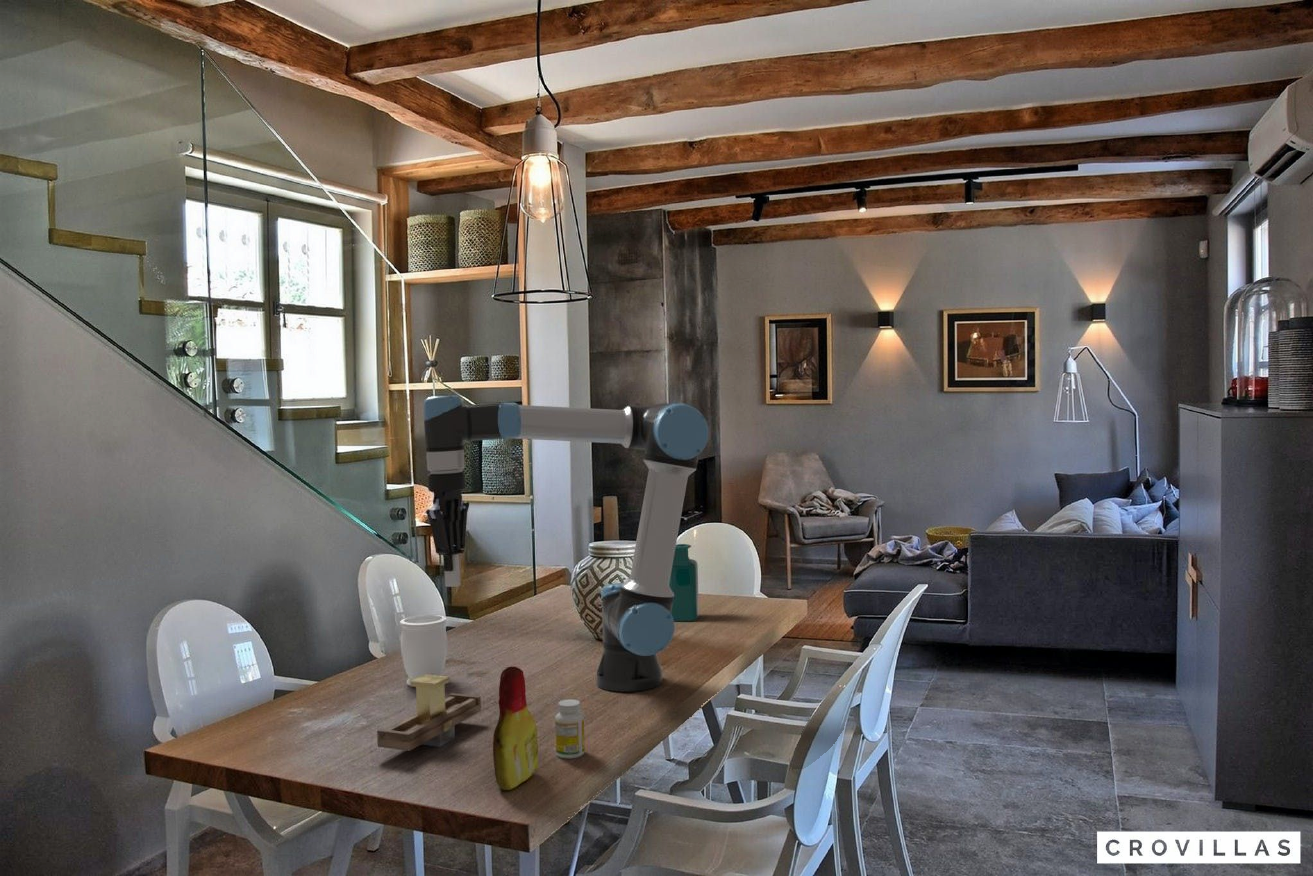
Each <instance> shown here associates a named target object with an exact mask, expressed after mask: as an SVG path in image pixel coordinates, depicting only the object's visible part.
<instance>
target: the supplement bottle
mask: <svg viewBox="0 0 1313 876" xmlns="http://www.w3.org/2000/svg"><path fill="white" fill-rule="evenodd" d="M557 709H558V713H556V715H555V718H554V724H555V727H554V728H555V753H556V756H557V757H559V758H561V759H575V758H580V757H582V756H583V755H584V754H585V751H586V750H585V749H586V748H585V744H586V743H585V716H584V714H583V712H581V711H580V710H581V702H580V701H579V700H578V699H571V698H570V699H564V700H560V701H558V708H557Z"/></svg>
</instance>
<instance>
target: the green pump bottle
mask: <svg viewBox="0 0 1313 876" xmlns="http://www.w3.org/2000/svg"><path fill="white" fill-rule="evenodd" d="M690 548H692V545H691V544H687V543H680V544H679V543H678V544H677V543H676V547H675V553H674V559H673V564H672V570H671V576H670V582H669V587H670V589H671V590H672V592H673V593H674V599H673V605H672V611H671V615H672V617H673V621H674V622H695V621H697V620H698V618H699V615H700V608H699V607H700V606H699V605H700V603H699V601H700V600H699V570H698V569H699V567H698V566H699V564H698V562H697V561H696V560H695V559H692V558H690V557H689V549H690Z"/></svg>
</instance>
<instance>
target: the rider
mask: <svg viewBox="0 0 1313 876" xmlns="http://www.w3.org/2000/svg"><path fill="white" fill-rule="evenodd" d="M450 682H451V677H450V676H447V675H442V676H439V675H428V674H425V675H423V676H421V677H419V678H416V679H414V680H412V681H410V685H409V687H413V688H415V691H416V692H415V693H416V696H415V697H416V714H417V723H422V724H423V723H425V722H427V721H429V720H431V719H433V718H435V717H436V716H438V715H440V714H442V713H444V712H445V699H446V693H445V692H446V690H445V688H446V687H445V685H446V684H448V683H450Z"/></svg>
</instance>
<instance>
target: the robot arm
mask: <svg viewBox="0 0 1313 876" xmlns="http://www.w3.org/2000/svg"><path fill="white" fill-rule="evenodd" d="M461 400H462V399H461V397H460V396H459V395H442V396H441V395H440V396H429V397H427V398H426V399H425V400H424V402H423V426H424V427H423V428H424V439H425V440H424V441H425V452H426V457H425V458H426V468H427V469H426V470H427V471H428V472H430V473H428V475H427V488H428V491H429V492H431V493H432V494H433V499H432V504H433V505H432V506H431V508H427V509H426V511H425V513H426V516H427V517H428V520H429V524H430V530H431V534H432V539H433V544H434V549H435V553H436V554H437V555H438V556H442V559H443V571H444V572H443V573H444V586H445V587H448V588H449V587H452V588H453V587H454V588H455V587H456V588H458V587H460V586H461V571H460V569H461V568H460V565H461V563H460V554H464V551H465V548H466V539H467V537H466V536H467V524H468V521H467V520H468V511H469V507H470V502H469V501H464V500H463V495H462V492H461V491H463V490H465V489H466V488H467V487H466V486H467V485H466V474H465V472H464V471H463V470H464V469H465V467H466V466H465V453H464V442H471V441H492V440H494V441H495V440H496V441H497V440H503V441H505V440H508V439H516V440H517V439H518V440H519V439H520V440H522V439H523V440H538V441H539V440H541V441H560V442H578V443H579V442H581V443H582V442H583V443H584V442H585V443H601V444H602V443H603V444H605V443H607V444H620V445H622V447H624V448H625V449H633V450H634V449H635V450H640V451H642V450H643V451H644V456H643V462H644V464H645V465H646V467H647V468H648V474H647V478H646V485H645V490H644V497H643V503H642V507H641V513H640V519H639V524H638V529H637V535H636V540H635V547H634V553H633V556H632V557H633V559H632V564H631V570H630V576H629V579H627V580H626V581H625V582H616V583H608V584H605V585H604V586H603V587H602V589H601V597H600V601H601V617H602V619H601V622H602V623H601V625H602V653H601V657H600V660H599V664H598V667H597V671H596V673H595V674H596V677H595V679H596V686H597V687H598V688H601V689H603V690H607V691H611V692H612V691H614V692H640V691H641V692H642V691H647V690H651V689H655V688H657V687H658V686H660V685H661V684H663V670H662V668H661V665H660V663H659V660H658V656H657V654H658V653H660V652H662V651H663V650H665V649H666V648H667V647H668V645H669V644H671V641H672V640H673V637H674V633H675V621H673V617H672V615H671V611H672V605H673V599H674V593H673V592H672V590H671V589H670V587H669V582H670V576H671V570H672V564H673V559H674V553H675V547H676V545H677V540H678V535H679V531H680V523H681V519H682V518H681V517H682V513H683V508H684V501H685V497H686V489H687V484H688V479H689V476H691V474H692V473H694V472H695V471H697V467H698V462H699V456H700V454H701V453H702V452H703V450H704V449H705V447H706V446H707V443H708V440H709V432H710V431H709V426H708V423H707V420H706V417H705V416H704V415H703V413H702V412H700V411H699V410H698V409H697V408H695V407H694V406H691V405H690V404H687V403H684V402H672V403H669V402H668V403H659V404H652V405H643V406H642V405H640V406H637V405H636V406H635V405H634V406H633V405H627V406H625V407H624V408H623V409H608V408H607V409H605V408H590V407H588V408H587V407H584V408H583V407H572V406H571V407H569V406H564V407H563V406H550V405H549V406H547V405H546V406H545V405H527V404H518V403H517V402H505V401H504V402H503V401H502V402H493V403H491V402H481V403H479V404H478V403H477V404H476V403H475V404H462V401H461Z"/></svg>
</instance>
